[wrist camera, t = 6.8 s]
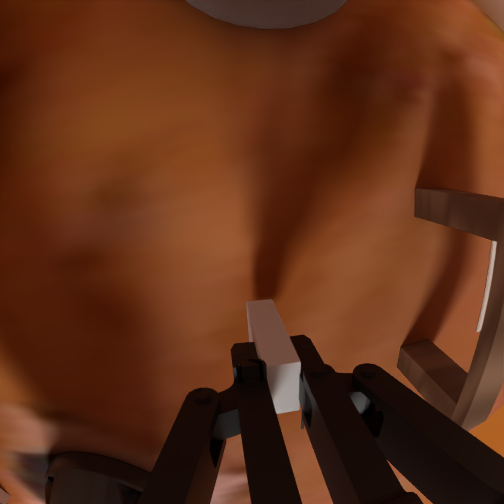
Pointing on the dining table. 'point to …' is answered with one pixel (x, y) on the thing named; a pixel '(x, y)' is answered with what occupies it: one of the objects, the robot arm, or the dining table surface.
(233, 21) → the coffee pot
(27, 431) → the dining table surface
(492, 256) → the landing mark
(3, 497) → the milk
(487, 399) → the bridge
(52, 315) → the dining table surface
